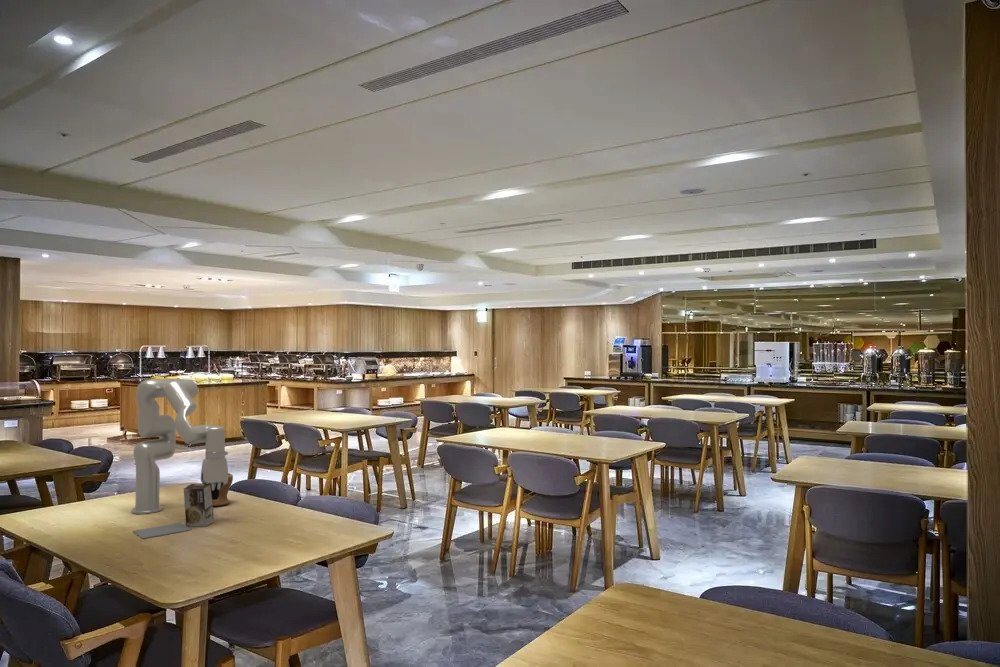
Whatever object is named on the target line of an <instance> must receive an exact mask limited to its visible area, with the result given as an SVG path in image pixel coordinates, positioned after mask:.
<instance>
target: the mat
mask: <svg viewBox="0 0 1000 667" xmlns="http://www.w3.org/2000/svg"><path fill="white" fill-rule="evenodd" d="M188 530H191V531H193V529H192V528H190V526H186V524H183V523H181V522H176V523H171V524H166V525H165V524H164V525H159V526H152V527H146V528H142V529H136V530H135V529H134V530H132V531H133V532H134V533H133V532H132V533H133V534H135V533H136V534H137V535H136V534H135V535H136V536H138V537H139V536H140V537H141V540H145V539H146V538H147V539H152V538H156V537H162V536H169V535H174V534H178V533H179V532H180V533H185V532H189V531H188ZM184 531H185V532H184ZM180 533H179V534H180ZM140 537H139V538H140ZM147 539H146V540H147Z"/></svg>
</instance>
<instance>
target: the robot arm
mask: <svg viewBox="0 0 1000 667" xmlns="http://www.w3.org/2000/svg"><path fill="white" fill-rule="evenodd" d="M198 392H199V388H198V385H197V383H196V382H195V381H193V380H191V379H184V378H152V379H151V378H150V379H146V380H143V381H141V382H140V383H139V384H138V385H137V388H136V392H135V396H136V397H135V398H136V402H137V406H138V407H137V409H138V411H137V432H138V436H139V437H141V438H147V439H148V438H156V437H159V438H156V439H149V440H144V441H141V442H138V443H137V444H136V445H135V446H134V448H133V457H134V458H133V459H134V462H135V500H134V501H135V502H134V503H135V506H134V507H133V508H131V513H132V514H135V515H144V514H145V515H146V514H154V513H157V512H161V511H162V510H164V506H163V505H162V504H161V505H160V487H161V486H160V483H161V480H160V477H161V475H160V473H161V472H160V467H159V466H158V464H157V462H156V461H160V460H161V461H162V460H167V459H170V458H172V457H173V456H174V454H175V452H176V443H177V442H176V436H177V434H178V436H179V437H180V439H181V440H182V441H183V442H184V443H185V444H187V445H195V444H203V443H205V457H204V458H203V459H202V464H201V469H200V482H201V484H212V499H213V500H215V499H216V500H217V499H218V497H219V489H220V488H221V487H222V485H224V484H227V483H228V473H229V467H228V460H227V458H226V455H227V456H228V454H229V452H228V451H226V450H225V449H226V443H225V441H226V428H225V427H224V426H222V425H213V424H200V425H192V426H191V425H190V423H189V421H188V419H187V417H189V416H190V415H192V414H193V413H194V411H195V410H196V409H197V403H196V402H195V400H194V398H195V397H197V395H198ZM157 398H158V399H159V398H161V399H162V398H166V399H167V400H168V402H169V403H170V405H171V407H172V409H173V410H174V411H175V413H176V416H175V419H174V417H172V416H171V415H169V414H160V405H159V403H158V401H157ZM176 432H177V434H176ZM214 483H216V484H215V488H214Z"/></svg>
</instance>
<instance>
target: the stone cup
mask: <svg viewBox="0 0 1000 667" xmlns="http://www.w3.org/2000/svg"><path fill="white" fill-rule="evenodd" d="M233 480H234V474H232V473H229V472H228V483H227V484H224V485H222V487H221V488H220V489H219V497H218V499H217V500H216V499H215V500H213V499H212V500H213V507H214V506H215V507H216V506H224V505H228V504H230V503H231V501H230V500H229V499H228V493H229V491H230V489H231V486H232V484H233ZM215 484H216V483H214V488H215Z"/></svg>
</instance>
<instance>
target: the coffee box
mask: <svg viewBox="0 0 1000 667" xmlns="http://www.w3.org/2000/svg"><path fill="white" fill-rule="evenodd" d="M183 500H184V511H185V514H184V515H185V526H187V527H207V526H209V525H210V524H212V523H213V522H214V521H215V519H214V505H213V500H212V484H202V483H190V484H189V485H187V486H186V487H184V488H183Z"/></svg>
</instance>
